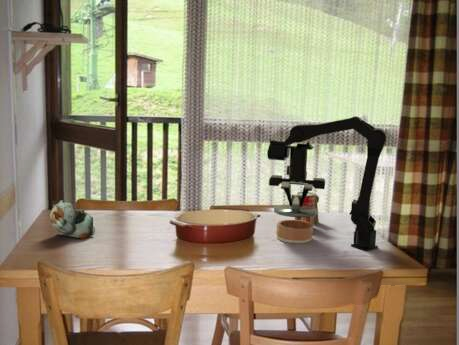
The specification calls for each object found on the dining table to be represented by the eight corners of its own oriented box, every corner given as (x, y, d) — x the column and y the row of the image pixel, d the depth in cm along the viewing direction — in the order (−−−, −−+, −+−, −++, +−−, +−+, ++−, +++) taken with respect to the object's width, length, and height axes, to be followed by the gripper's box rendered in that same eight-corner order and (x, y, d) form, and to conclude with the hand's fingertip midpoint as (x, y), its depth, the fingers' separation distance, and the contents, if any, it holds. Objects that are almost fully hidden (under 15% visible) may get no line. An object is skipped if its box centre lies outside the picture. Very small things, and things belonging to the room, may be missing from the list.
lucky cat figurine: (95, 239, 175) (76, 206, 168) (61, 253, 174) (40, 221, 168) (96, 215, 188) (78, 184, 181) (65, 228, 187) (46, 197, 181)
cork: (318, 224, 202) (320, 196, 200) (302, 223, 203) (304, 195, 201) (319, 220, 208) (320, 193, 206) (303, 219, 209) (305, 192, 207)
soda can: (312, 225, 201) (314, 192, 198) (313, 230, 194) (316, 196, 191) (294, 224, 201) (295, 191, 199) (294, 229, 194) (296, 195, 192)
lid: (326, 213, 180) (327, 196, 179) (295, 219, 171) (296, 202, 170) (295, 204, 192) (296, 189, 191) (264, 210, 183) (265, 193, 182)
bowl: (318, 239, 182) (319, 225, 182) (293, 245, 175) (294, 230, 174) (294, 231, 192) (294, 218, 191) (269, 236, 184) (270, 222, 184)
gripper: (326, 160, 185) (324, 203, 187) (273, 157, 188) (271, 199, 191) (325, 164, 174) (323, 210, 176) (269, 161, 178) (267, 206, 180)
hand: (295, 206), depth 181 cm, fingers closed on lid, 3 cm apart
